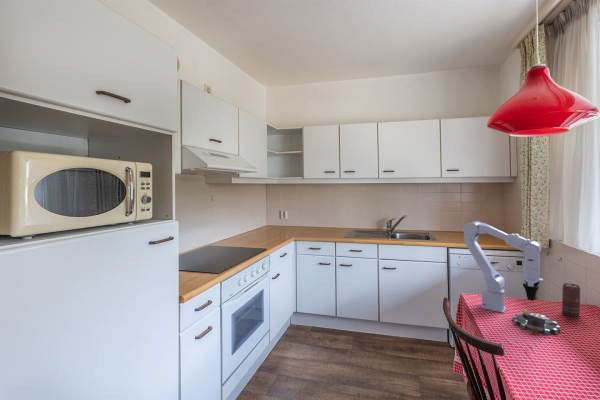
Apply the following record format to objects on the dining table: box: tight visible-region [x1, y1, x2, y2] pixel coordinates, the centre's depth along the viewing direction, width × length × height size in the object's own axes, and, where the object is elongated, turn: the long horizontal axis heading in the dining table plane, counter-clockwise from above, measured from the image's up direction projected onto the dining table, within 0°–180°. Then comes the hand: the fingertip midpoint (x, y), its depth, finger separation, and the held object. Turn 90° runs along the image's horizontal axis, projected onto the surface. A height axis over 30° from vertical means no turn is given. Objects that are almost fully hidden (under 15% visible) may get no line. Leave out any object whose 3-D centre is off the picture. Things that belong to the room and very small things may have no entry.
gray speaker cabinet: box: [527, 311, 546, 328], centre depth 128 cm, size 6×4×4 cm, turn 50°
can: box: [561, 282, 581, 318], centre depth 141 cm, size 6×6×14 cm
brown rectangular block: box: [530, 327, 538, 336], centre depth 124 cm, size 2×1×3 cm, turn 50°
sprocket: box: [512, 309, 561, 335], centre depth 132 cm, size 16×16×4 cm
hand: (531, 297), depth 138 cm, fingers open, 7 cm apart
